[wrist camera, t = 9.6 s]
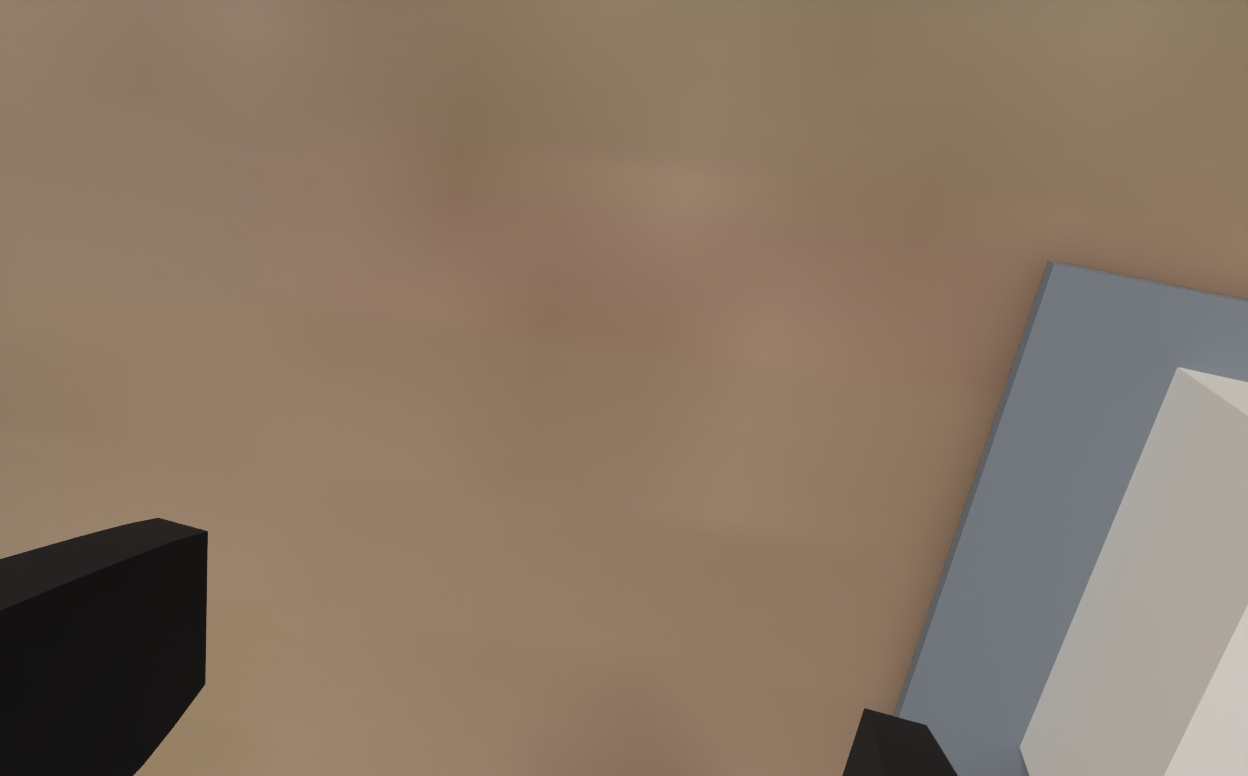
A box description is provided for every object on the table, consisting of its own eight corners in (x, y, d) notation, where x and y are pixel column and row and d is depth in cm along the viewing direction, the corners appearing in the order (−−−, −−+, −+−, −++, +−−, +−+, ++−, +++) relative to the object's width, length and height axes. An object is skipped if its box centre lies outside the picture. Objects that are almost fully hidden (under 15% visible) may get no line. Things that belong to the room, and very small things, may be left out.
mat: (1296, 899, 19) (1306, 916, 18) (871, 780, 20) (872, 794, 19) (1602, 371, 15) (1623, 378, 14) (1048, 260, 16) (1054, 263, 15)
